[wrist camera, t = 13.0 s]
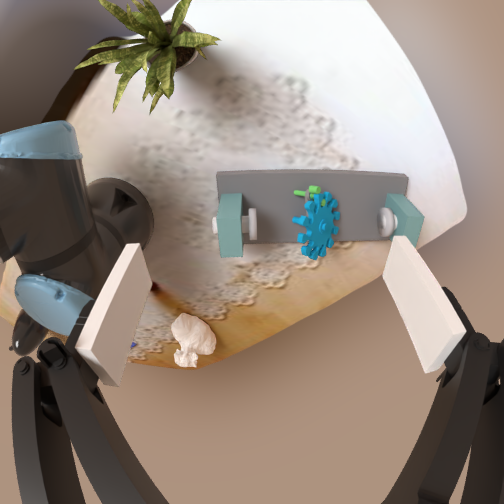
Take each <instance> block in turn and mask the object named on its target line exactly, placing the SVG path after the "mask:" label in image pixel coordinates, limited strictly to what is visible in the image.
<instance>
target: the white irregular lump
mask: <svg viewBox="0 0 504 504" xmlns="http://www.w3.org/2000/svg"><path fill="white" fill-rule="evenodd" d="M171 330H172V333H173V336H174V337H175V339H176V340H177V341H178V342H179V344H180V345H181V351H180V350H178V349H177V351H176V353H174V357H175V363H177V364H178V365H179V366H181V367H197V366H196V363H197V361H196V360H197V359H198V356H197V354H196V352H197V353H198V354H205V355H209V354H212V353H213V351H214V349H215V345H216V337H215V334H214V333H213V332H212V331H211V329H210V327H209V325H208V324H206V323H205V322H204V321H202V320H201V319H199V318H198V317H197V316H191V315H189V314H186V313H181V314H180V316H179V317H178V318H177V319H176V320H175V321H174V322H173V323H172V325H171Z"/></svg>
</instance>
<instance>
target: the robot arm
mask: <svg viewBox="0 0 504 504" xmlns="http://www.w3.org/2000/svg"><path fill="white" fill-rule="evenodd" d="M153 226H154V221H153V215H152V211H151V208H150V206H149V204H148V202H147V201H146V199H145V198H144V196H143V195H142V194H141V193H140V192H139V191H138V190H137V189H136V188H135V187H133V186H132V185H130V184H129V183H127V182H125V181H122V180H119V179H115V178H101V179H98V180H95V181H93V182H91V183H90V184H89V185H88V186H86V181H85V176H84V171H83V165H82V154H81V153H80V150H79V146H78V142H77V137H76V132H75V129H74V127H73V126H72V125H71V124H70V123H69V122H66V121H54V122H48V123H43V124H38V125H34V126H30V127H25V128H21V129H18V130H14V131H11V132H7V133H4V134H1V135H0V264H2V263H4V262H5V261H7V260H9V259H10V258H12V257H13V256H14V257H15V259H16V261H17V263H18V266H19V268H20V270H21V272H22V275H21V276H19V277H18V278H17V280H16V284H15V296H16V298H17V301H18V302H19V304H20V305H21V307H22V308H23V309H24V310H25V312H26V313H27V314H28V315H29V316H31V317H32V318H33V319H34V320H35V321H37V322H38V323H40V324H41V325H43V326H44V327H46V328H48V329H50V330H52V331H54V332H56V333H59V334H62V335H66V336H69V337H68V339H67V342H66V344H65V346H64V344H63V343H62V341H61V340H60V339H58V338H57V337H51V338H48V339H46V340H45V341H43V342H42V343H41V345H40V346H39V348H38V351H37V358H38V359H39V360H40V361H41V362H38V363H36V362H35V361H34V360H33V359H32V358H31V357H29V356H24V357H22V358H20V359H19V360H18V361H17V362H16V364H15V366H14V370H13V382H12V432H13V447H14V457H15V465H16V472H17V479H18V484H19V490H20V495H21V499H22V504H86V503H85V500H84V496H83V493H82V490H81V486H80V482H79V478H78V474H77V471H76V466H75V462H74V457H73V452H72V447H71V442H72V444H73V447H74V449H75V451H76V454H77V456H78V458H79V460H80V462H81V464H82V467H83V469H84V471H85V473H86V475H87V477H88V479H89V481H90V482H91V484H92V486H93V488H94V490H95V492H96V493H97V495H98V497H99V499H100V500H101V502H102V504H169V503H168V502H167V500H166V499H165V498H164V496H163V495H162V494H161V492H160V491H159V490H158V488H157V487H156V486H155V484H154V483H153V481H152V480H151V479H150V477H149V476H148V474H147V473H146V471H145V470H144V468H143V467H142V465H141V464H140V463H139V461H138V459H137V458H136V456H135V454H134V453H133V451H132V449H131V448H130V446H129V444H128V443H127V441H126V439H125V438H124V436H123V434H122V432H121V430H120V428H119V427H118V425H117V423H116V421H115V419H114V417H113V415H112V413H111V411H110V409H109V408H108V406H107V403H106V402H105V399H104V397H103V395H102V393H101V391H100V389H99V387H98V386H97V382H98V379H100V380H101V381H102V382H103V384H105V385H109V386H116V387H119V386H120V382H121V379H122V375H123V372H124V368H125V365H126V361H127V358H128V355H129V352H130V348H131V345H132V342H133V339H134V336H135V332H136V329H137V326H138V323H139V320H140V317H141V314H142V312H143V309H144V306H145V303H146V300H147V297H148V294H149V292H150V289H151V286H152V281H151V278H150V275H149V272H148V269H147V265H146V262H145V259H144V256H143V252H142V251H143V250H144V248H145V247H146V245H147V244H148V242H149V240H150V238H151V235H152V232H153ZM382 277H383V279H384V281H385V282H386V284H387V287H388V289H389V291H390V293H391V295H392V297H393V299H394V301H395V303H396V305H397V307H398V310H399V312H400V314H401V316H402V318H403V321H404V323H405V325H406V328H407V330H408V332H409V334H410V337H411V339H412V342H413V344H414V347H415V349H416V352H417V354H418V357H419V359H420V362H421V364H422V367H423V369H424V372H425V373H428V372H432V371H436V370H438V369H439V368H440V367H441V365H442V364H443V363H445V366H446V369H445V370H444V371H443V372H442V374H441V375H440V376H439V377H438V378H437V380H436V382H438V381H439V380H440V379H441V382H440V384H439V387H438V391H437V393H436V396H435V399H434V402H433V405H432V407H431V409H430V412H429V415H428V417H427V420H426V422H425V424H424V427H423V429H422V431H421V434H420V436H419V438H418V440H417V443H416V444H415V447H414V449H413V451H412V453H411V455H410V457H409V459H408V461H407V463H406V465H405V467H404V468H403V470H402V472H401V474H400V475H399V477H398V479H397V481H396V482H395V484H394V486H393V487H392V489H391V491H390V493H389V494H388V496H387V497H386V499H385V500H384V501H383V502H382V503H381V504H449V499H450V497H451V495H452V493H453V491H454V489H455V486H456V484H457V482H458V479H459V477H460V475H461V472H462V470H463V467H464V464H465V462H466V459H467V456H468V453H469V450H470V447H471V454H470V460H469V466H468V472H467V477H466V481H465V486H464V491H463V495H462V499H461V503H460V504H504V339H503V340H502V342H501V343H495V342H490V340H489V339H488V338H487V337H486V336H485V335H484V334H482V333H478V332H477V333H476V332H475V330H474V329H473V327H472V325H471V323H470V321H469V320H468V318H467V316H466V314H465V313H464V311H463V310H462V309H461V306H460V304H459V303H458V301H457V299H456V298H455V296H454V295H453V293H452V292H451V291H450V290H448V289H447V288H446V287H441V286H440V285H439V284H438V282H437V280H436V279H435V277H434V276H433V274H432V273H431V271H430V270H429V268H428V267H427V265H426V264H425V262H424V261H423V259H422V258H421V256H420V255H419V253H418V252H417V251H416V249H415V248H414V246H413V245H412V244H411V242H410V241H409V240H408V238H407V237H406V236H394V237H393V241H392V245H391V248H390V252H389V255H388V259H387V262H386V265H385V269H384V272H383V276H382ZM499 379H500V385H499V381H498V380H499ZM70 440H71V441H70ZM471 445H472V446H471Z"/></svg>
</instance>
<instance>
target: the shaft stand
mask: <svg viewBox="0 0 504 504" xmlns="http://www.w3.org/2000/svg"><path fill="white" fill-rule="evenodd" d="M216 177H217V188H218V198H219V208H218V213H217V217H213V223H212V224H213V233H214V234H218V239H219V247H220V255H221V257H243V244H256V243H289V242H297V238H298V233H304V234H306V233H307V229H306V228H305V226H301V225H299V224H296V223H293V222H292V219H293V217H294V216H295V217H301V215H302V216H306V217H307V215H306V209H305V207H304V204H305V196H298V195H294V191H295V190H299V191H306V190H307V189H309V186H318V187H320V188H321V191H320V193H322V194H323V193H324V191H325V192H330V193H331V195H332V199H337V202H338V206H337V207H336V208H334V207H333V208H332V211H331V212H332V213H333V212H334V211H337V212H340V218H339V220H335V219H333V223H334V225H335V226H337V227H339V230H338V233H337V235H335V234H331V236H332V239H333V241H367V240H391V241H393V237H394V236H406V237H407V238H408V240H409V241H410V242H411V244H412V245H413V246H414V248H415V247H416V244H417V241H418V238H419V234H420V231H421V227H422V224H423V220H424V216H423V215H422V213H421V212H420V211H419V210H418V209H417V208H416V207H415V206H414V205H413V204H412V203H411V202H410V201H409V200H408V199H407V198H406V197H405V193H406V188H407V183H408V178H409V177H407V176H406V175H405V174H399V173H385V172H369V171H348V170H246V171H225V172H217V175H216ZM328 203H329V201H328ZM328 203H327V205H328ZM306 242H309V240H308V241H306Z"/></svg>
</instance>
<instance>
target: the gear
mask: <svg viewBox="0 0 504 504" xmlns="http://www.w3.org/2000/svg"><path fill="white" fill-rule="evenodd" d="M320 191H321V188H320V187H318V186H309V189H307V190H306V191H299V190H295V191H294V195H298V196H305V204H304V207H305V209H306V215H307V217H306V216H302V215H301V217H295V216H294V217H293V219H292V222H293V223H296V224H299V225H301V226H305V228H306V229H307V233H306V234H304V233H298V238H297V242H300V243H305V242H306V241H308V240H309V243H308V245H307V246H302V248H301V252H302V255H305V256H308V257H309V258H310V259H313V260H317V258H318V256H321V257H324V256H326V247H328V248H331V247H332V246H333V244H334V241H333V239H332V236H331V234H335V235H337V233H338V230H339V227H337V226H335V225H334V223H333V219H335V220H339V218H340V212H337V211H334V212H333V213H332V212H331V211H332V208H333V207H334V208H336V207H337V206H338V202H337V199H332V195H331V193H330V192H325V191H324V193H323V194H322V193H320ZM328 201H329V203H328ZM327 203H328V205H327ZM312 249H313V250H312ZM311 250H312V251H311Z"/></svg>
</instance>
